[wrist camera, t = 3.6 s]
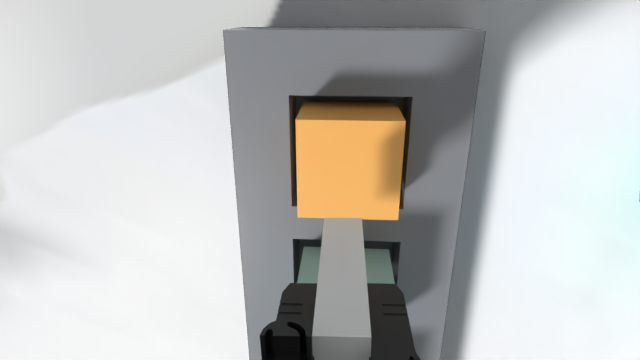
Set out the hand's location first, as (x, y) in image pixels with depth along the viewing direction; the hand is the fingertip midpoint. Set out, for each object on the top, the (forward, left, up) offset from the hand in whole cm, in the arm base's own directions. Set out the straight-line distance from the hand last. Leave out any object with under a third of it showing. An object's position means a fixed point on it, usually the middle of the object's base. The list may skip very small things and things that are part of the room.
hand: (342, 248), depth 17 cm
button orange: (0, +2, -7) cm, 8 cm away
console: (0, -6, -9) cm, 11 cm away
